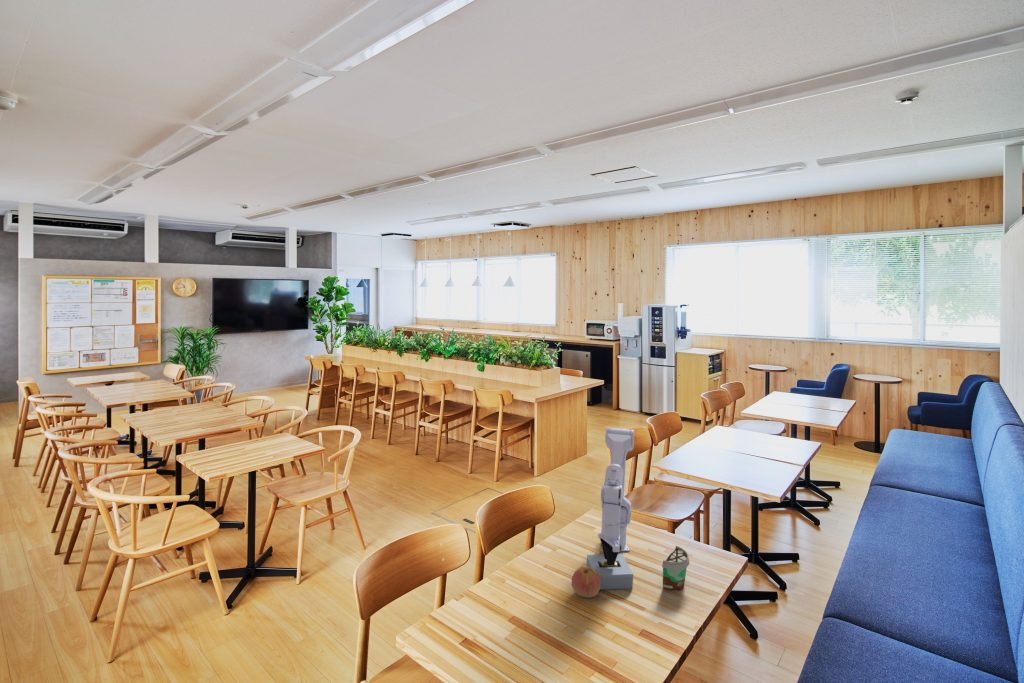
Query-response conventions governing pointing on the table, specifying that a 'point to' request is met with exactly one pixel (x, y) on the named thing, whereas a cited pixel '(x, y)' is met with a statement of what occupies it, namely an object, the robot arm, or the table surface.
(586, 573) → the apple
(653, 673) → the table surface
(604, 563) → the block
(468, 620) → the table surface
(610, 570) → the coin box
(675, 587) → the food container
